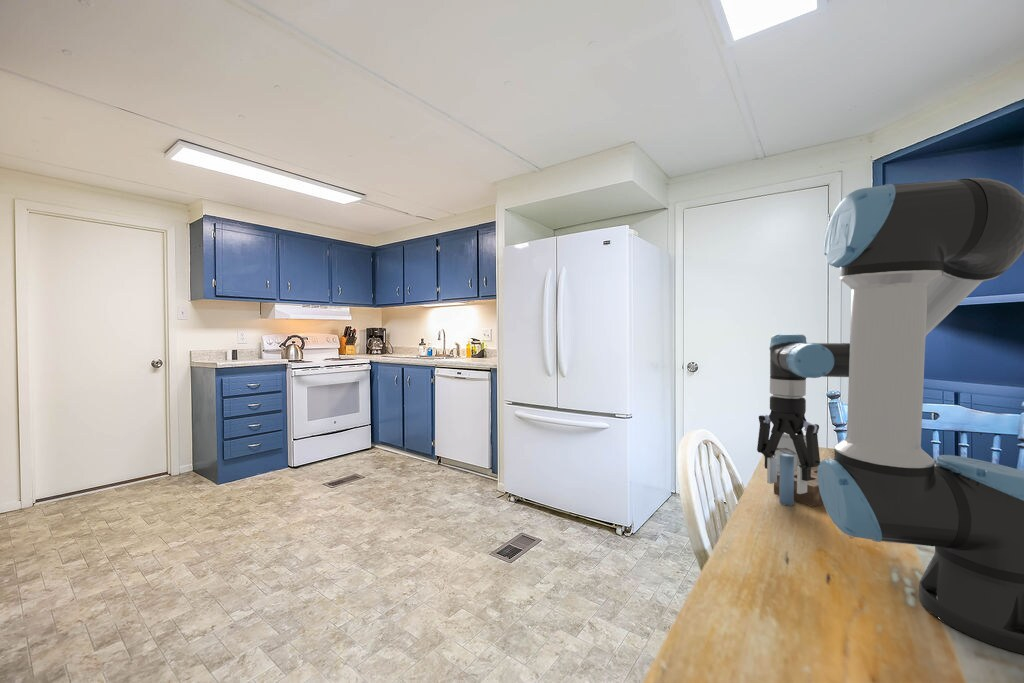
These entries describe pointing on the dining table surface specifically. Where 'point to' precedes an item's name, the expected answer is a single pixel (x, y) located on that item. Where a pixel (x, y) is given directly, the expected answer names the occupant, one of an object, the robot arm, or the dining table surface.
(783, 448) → the supplement box
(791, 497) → the peg
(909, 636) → the dining table surface
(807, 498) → the hole block
